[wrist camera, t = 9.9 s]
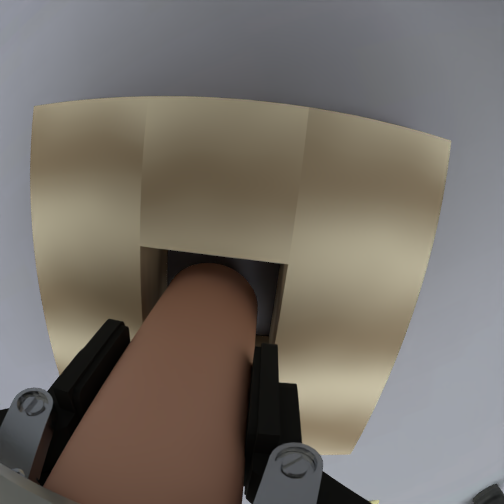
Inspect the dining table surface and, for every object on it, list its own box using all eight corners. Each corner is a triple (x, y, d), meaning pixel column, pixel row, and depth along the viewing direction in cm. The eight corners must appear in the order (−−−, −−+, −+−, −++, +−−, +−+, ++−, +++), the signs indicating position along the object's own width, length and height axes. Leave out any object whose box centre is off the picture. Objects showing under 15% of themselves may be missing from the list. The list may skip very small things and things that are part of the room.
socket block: (78, 110, 15) (34, 106, 11) (412, 140, 14) (451, 140, 10) (94, 375, 20) (71, 410, 16) (341, 411, 20) (350, 454, 16)
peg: (166, 257, 14) (-45, 548, 1) (263, 268, 14) (235, 663, 1) (167, 337, 16) (51, 598, 2) (252, 349, 16) (222, 647, 2)
